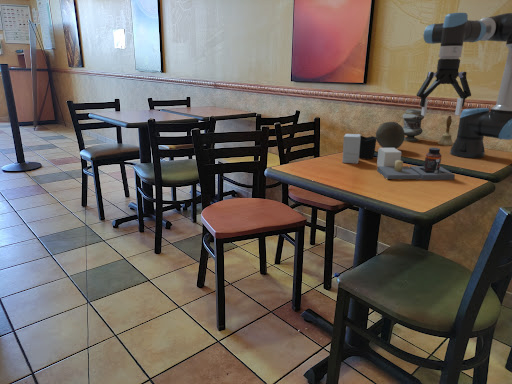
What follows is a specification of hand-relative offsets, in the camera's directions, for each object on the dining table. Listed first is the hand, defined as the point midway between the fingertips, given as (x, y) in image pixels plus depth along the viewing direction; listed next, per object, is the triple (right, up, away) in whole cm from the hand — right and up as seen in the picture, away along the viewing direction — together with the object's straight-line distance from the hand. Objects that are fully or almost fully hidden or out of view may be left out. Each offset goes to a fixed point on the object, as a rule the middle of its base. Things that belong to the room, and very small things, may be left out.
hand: (440, 115), depth 147 cm
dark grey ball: (-2, -8, +52) cm, 52 cm away
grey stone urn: (+20, +1, +76) cm, 79 cm away
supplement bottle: (0, -23, +8) cm, 25 cm away
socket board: (0, -23, +8) cm, 25 cm away
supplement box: (-28, -16, +30) cm, 44 cm away
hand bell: (+36, -3, +66) cm, 75 cm away
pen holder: (-19, -13, +37) cm, 44 cm away
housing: (-14, -19, +19) cm, 31 cm away
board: (-14, -23, +8) cm, 28 cm away
